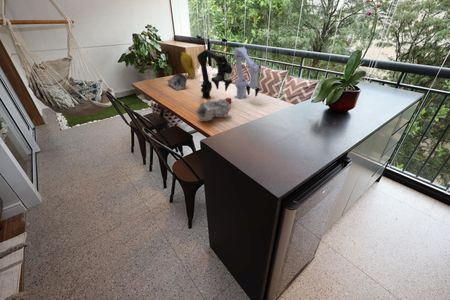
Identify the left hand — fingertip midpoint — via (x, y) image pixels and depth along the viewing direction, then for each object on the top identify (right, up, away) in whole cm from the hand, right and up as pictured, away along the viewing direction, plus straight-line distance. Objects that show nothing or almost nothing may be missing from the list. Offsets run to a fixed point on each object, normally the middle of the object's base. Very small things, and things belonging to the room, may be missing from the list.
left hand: (221, 90), depth 180 cm
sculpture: (-44, +41, +83) cm, 103 cm away
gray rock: (-52, +19, +50) cm, 75 cm away
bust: (-5, -28, -20) cm, 35 cm away
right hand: (+28, -4, +4) cm, 28 cm away
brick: (+6, -9, +8) cm, 14 cm away
